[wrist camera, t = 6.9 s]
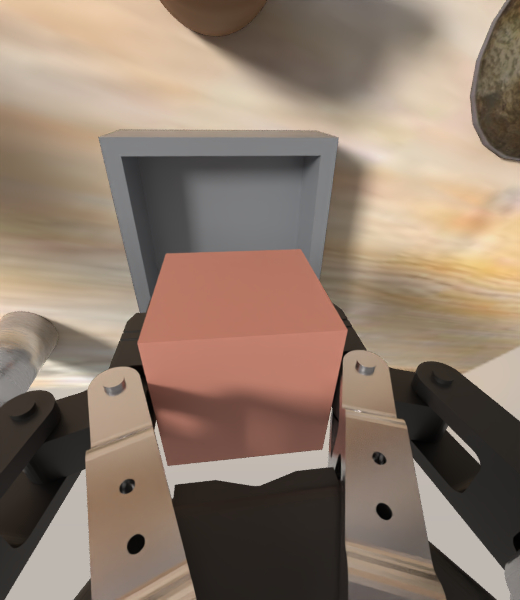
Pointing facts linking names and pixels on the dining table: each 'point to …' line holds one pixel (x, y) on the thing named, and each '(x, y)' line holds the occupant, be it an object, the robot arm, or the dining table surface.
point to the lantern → (499, 85)
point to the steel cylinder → (23, 351)
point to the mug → (214, 14)
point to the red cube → (240, 355)
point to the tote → (217, 194)
